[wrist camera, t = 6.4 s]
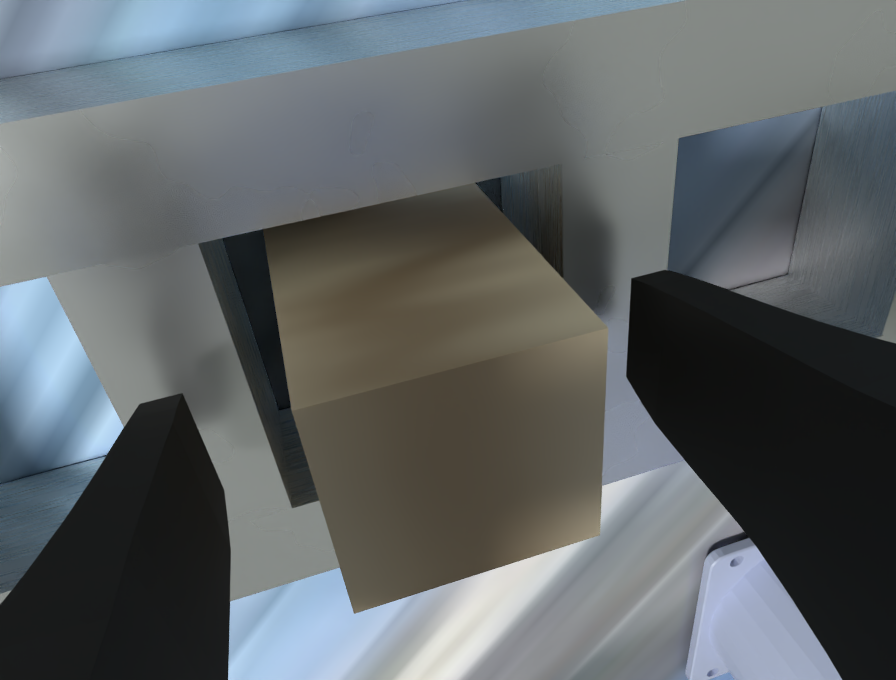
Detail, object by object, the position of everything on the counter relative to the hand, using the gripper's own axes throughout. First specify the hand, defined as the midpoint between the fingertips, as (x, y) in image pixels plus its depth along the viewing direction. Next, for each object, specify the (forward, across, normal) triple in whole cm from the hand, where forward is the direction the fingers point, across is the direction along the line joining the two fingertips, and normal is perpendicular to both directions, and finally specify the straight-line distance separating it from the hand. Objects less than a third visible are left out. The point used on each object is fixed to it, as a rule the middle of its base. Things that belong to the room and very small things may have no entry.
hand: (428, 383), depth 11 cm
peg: (+4, 0, 0) cm, 4 cm away
